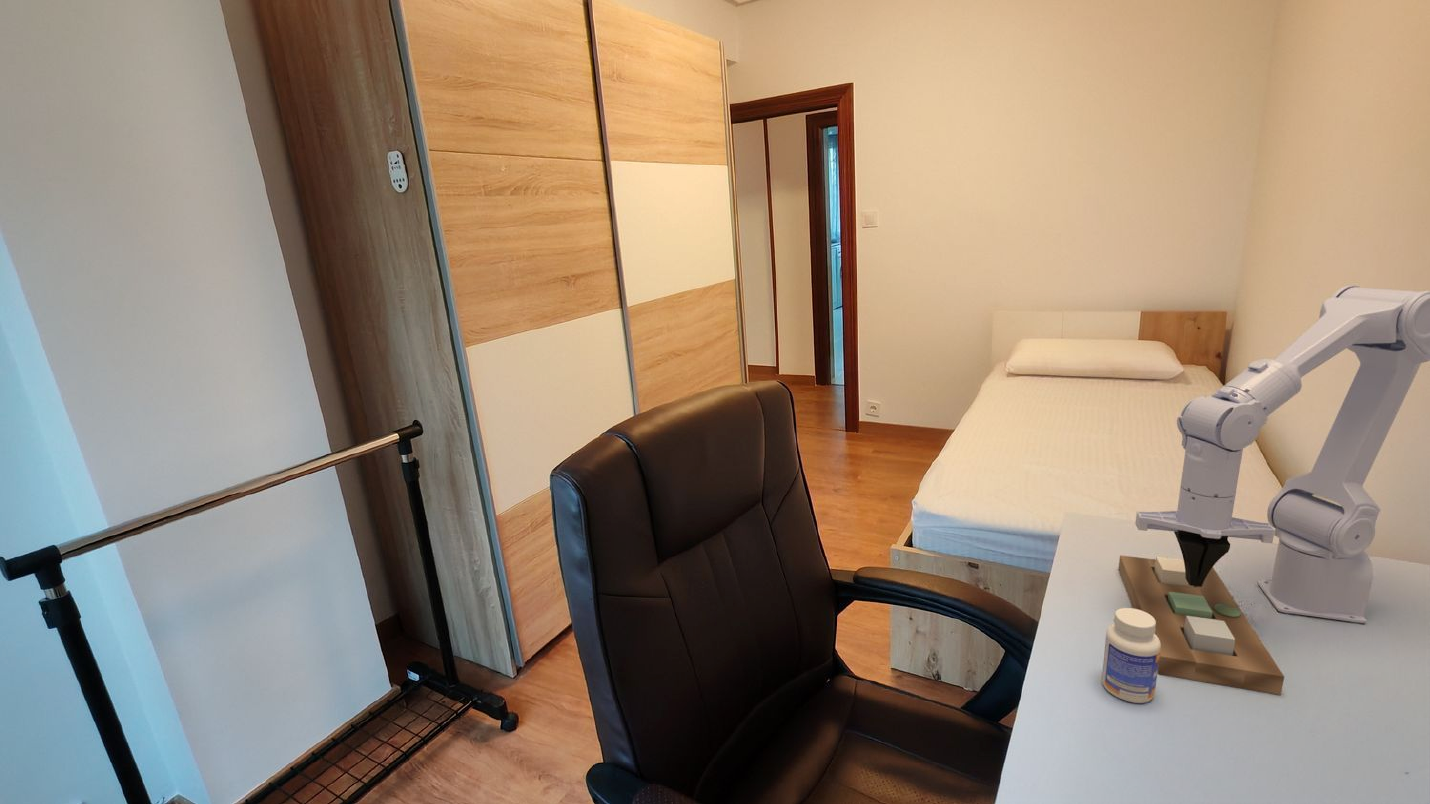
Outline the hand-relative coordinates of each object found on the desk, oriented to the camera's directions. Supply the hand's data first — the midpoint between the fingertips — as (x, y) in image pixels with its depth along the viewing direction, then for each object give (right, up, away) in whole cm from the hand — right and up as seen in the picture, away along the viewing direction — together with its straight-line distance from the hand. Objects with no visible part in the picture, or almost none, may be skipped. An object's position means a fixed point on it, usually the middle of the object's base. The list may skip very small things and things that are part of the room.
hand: (1193, 582), depth 87 cm
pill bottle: (-15, -10, -10) cm, 21 cm away
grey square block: (-3, -7, -6) cm, 9 cm away
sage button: (0, -6, +1) cm, 6 cm away
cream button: (+3, -2, +8) cm, 9 cm away
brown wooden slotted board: (0, -6, +2) cm, 6 cm away
